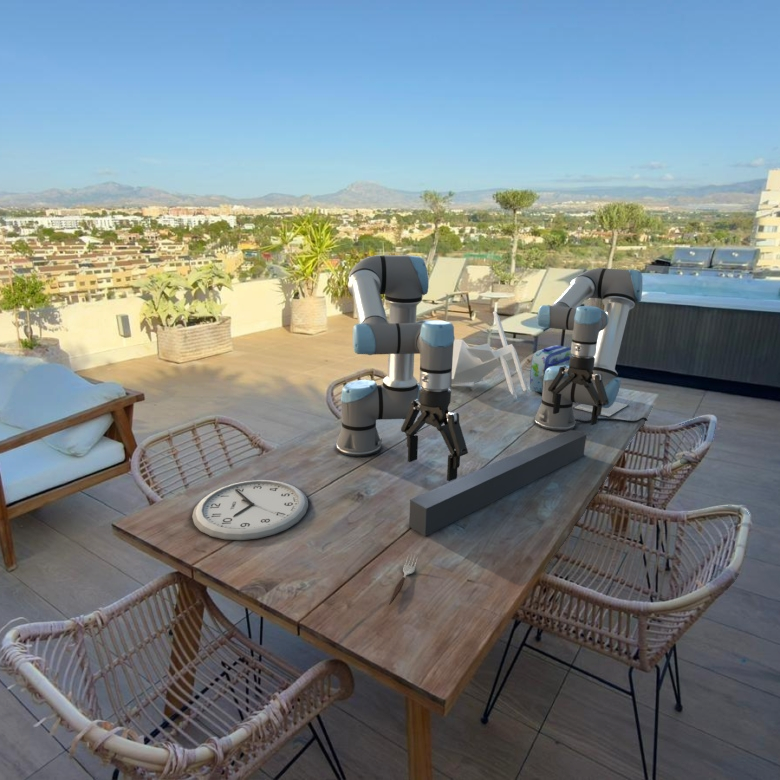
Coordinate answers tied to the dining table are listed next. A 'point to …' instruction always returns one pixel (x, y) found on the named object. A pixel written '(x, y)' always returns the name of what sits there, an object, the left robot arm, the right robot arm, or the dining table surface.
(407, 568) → the fork
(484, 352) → the white plastic object
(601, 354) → the right robot arm
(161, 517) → the dining table surface
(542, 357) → the lunch box
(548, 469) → the bar
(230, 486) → the wall clock
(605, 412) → the invitation card
